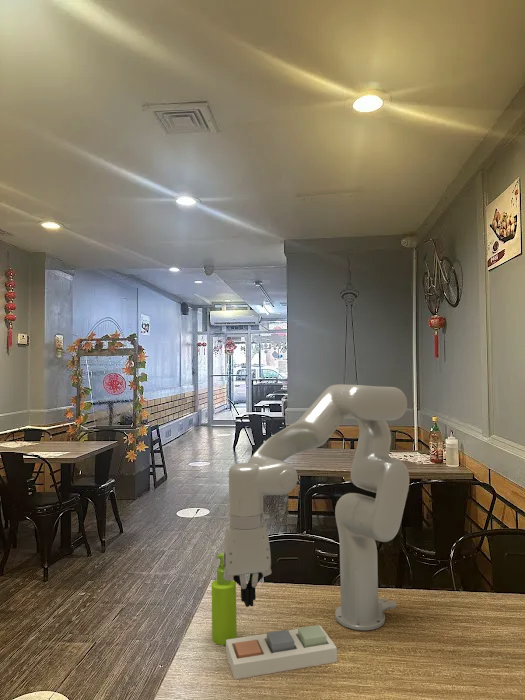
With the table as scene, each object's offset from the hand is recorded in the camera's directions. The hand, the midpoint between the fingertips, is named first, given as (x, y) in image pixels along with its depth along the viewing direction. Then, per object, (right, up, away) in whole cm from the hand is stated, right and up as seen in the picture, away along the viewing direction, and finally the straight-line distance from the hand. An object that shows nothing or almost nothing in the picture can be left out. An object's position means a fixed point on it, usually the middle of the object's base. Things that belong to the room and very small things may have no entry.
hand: (248, 603), depth 110 cm
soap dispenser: (-5, -13, +9) cm, 17 cm away
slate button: (+7, -10, +1) cm, 13 cm away
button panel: (+7, -13, +1) cm, 15 cm away
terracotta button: (0, -11, -1) cm, 11 cm away
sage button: (+14, -10, +3) cm, 18 cm away
